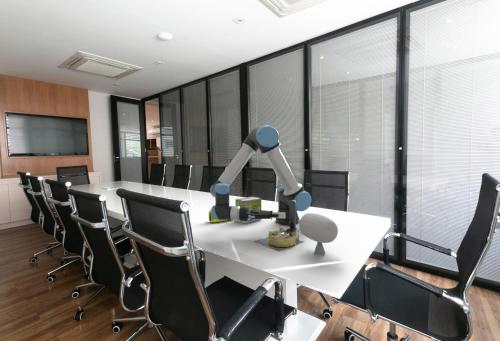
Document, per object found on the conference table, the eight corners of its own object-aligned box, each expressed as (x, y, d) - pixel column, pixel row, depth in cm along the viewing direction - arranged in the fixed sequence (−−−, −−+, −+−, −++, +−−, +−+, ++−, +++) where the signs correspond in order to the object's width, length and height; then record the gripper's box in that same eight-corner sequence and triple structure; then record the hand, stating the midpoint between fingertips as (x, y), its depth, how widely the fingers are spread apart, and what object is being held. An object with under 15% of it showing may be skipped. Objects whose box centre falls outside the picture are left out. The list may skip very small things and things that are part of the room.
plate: (253, 243, 125) (253, 231, 125) (279, 235, 137) (279, 224, 136) (278, 253, 112) (278, 240, 112) (304, 243, 124) (304, 231, 123)
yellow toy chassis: (231, 218, 174) (231, 206, 174) (234, 220, 169) (234, 208, 168) (208, 221, 167) (208, 209, 167) (211, 223, 162) (211, 210, 161)
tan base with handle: (282, 248, 114) (282, 206, 113) (263, 241, 123) (263, 202, 122) (305, 240, 124) (305, 201, 123) (285, 234, 134) (285, 198, 133)
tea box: (244, 224, 160) (244, 200, 159) (235, 221, 168) (234, 198, 167) (262, 219, 170) (261, 197, 169) (252, 217, 178) (251, 196, 177)
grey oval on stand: (327, 244, 122) (327, 208, 120) (341, 262, 102) (341, 219, 101) (295, 245, 122) (295, 209, 121) (303, 262, 102) (303, 220, 101)
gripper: (243, 217, 140) (286, 219, 135) (236, 223, 128) (284, 226, 122) (243, 204, 140) (286, 205, 134) (236, 209, 127) (284, 211, 122)
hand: (285, 215), depth 128 cm, fingers closed
